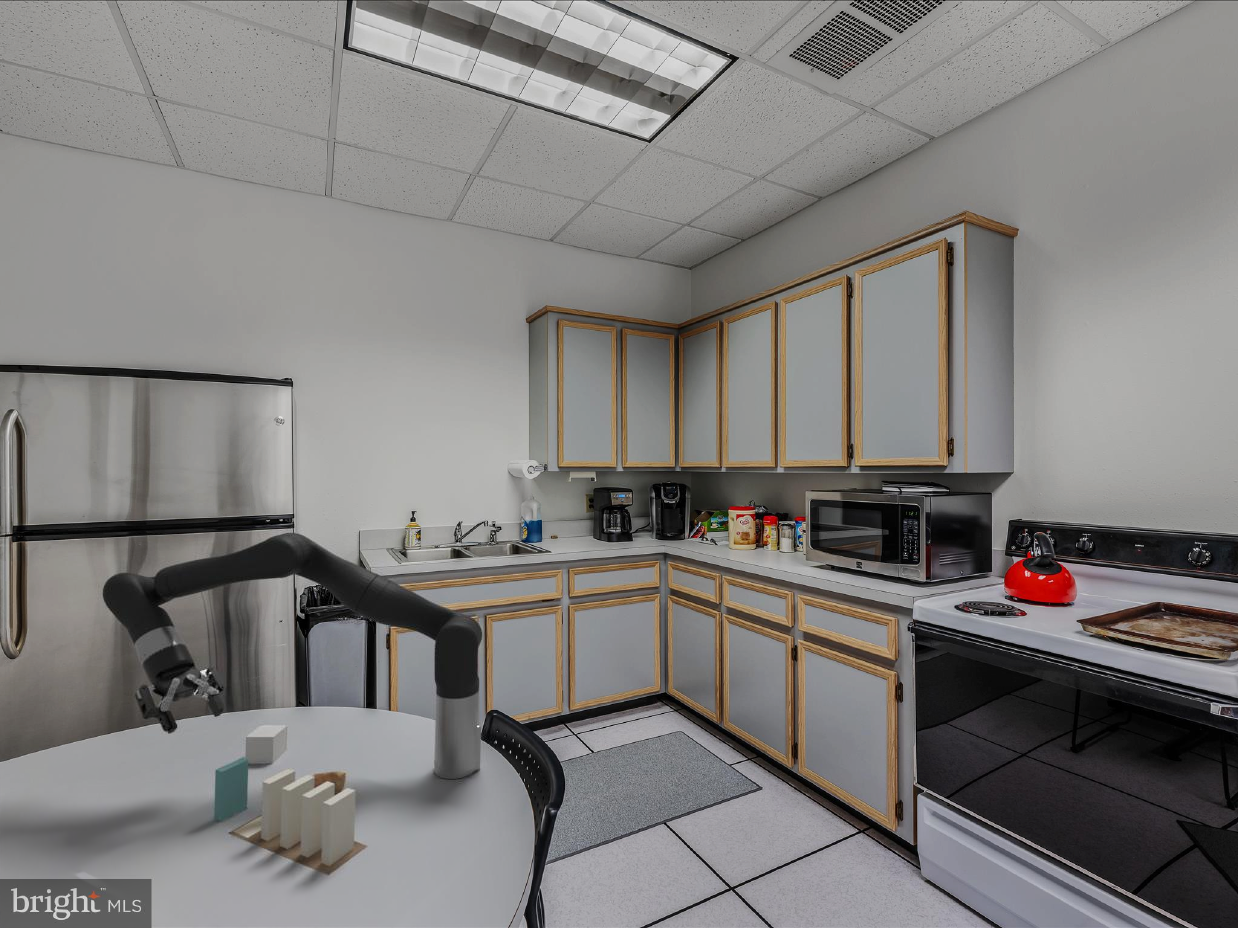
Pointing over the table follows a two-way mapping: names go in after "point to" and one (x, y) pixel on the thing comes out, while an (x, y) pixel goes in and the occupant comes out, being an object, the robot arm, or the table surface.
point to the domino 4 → (338, 826)
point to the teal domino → (231, 789)
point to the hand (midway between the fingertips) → (197, 722)
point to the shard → (331, 780)
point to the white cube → (266, 744)
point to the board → (253, 835)
